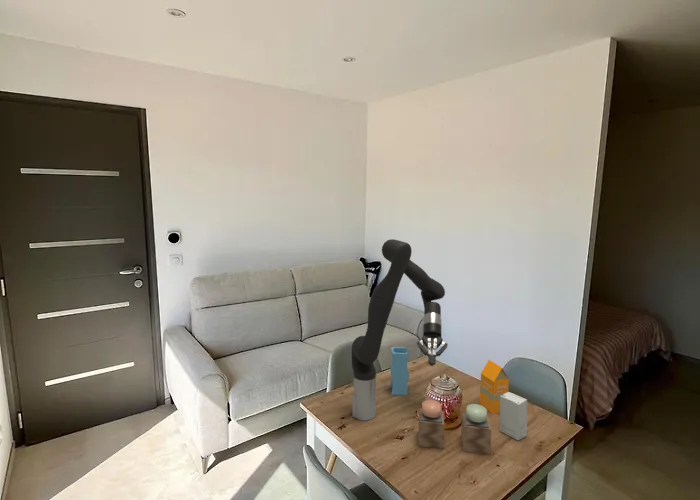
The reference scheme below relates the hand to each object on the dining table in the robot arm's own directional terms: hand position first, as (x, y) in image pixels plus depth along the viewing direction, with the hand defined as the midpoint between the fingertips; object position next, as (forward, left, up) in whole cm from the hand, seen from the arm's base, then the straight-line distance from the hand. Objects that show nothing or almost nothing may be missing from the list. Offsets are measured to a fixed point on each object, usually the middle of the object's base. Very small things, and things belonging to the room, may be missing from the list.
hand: (431, 365), depth 153 cm
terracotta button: (0, -13, -13) cm, 18 cm away
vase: (-14, +22, -24) cm, 36 cm away
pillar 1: (0, -13, -24) cm, 27 cm away
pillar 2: (+16, -13, -24) cm, 31 cm away
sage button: (+16, -13, -13) cm, 24 cm away
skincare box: (+31, -3, -24) cm, 39 cm away
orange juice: (+27, +15, -24) cm, 39 cm away
